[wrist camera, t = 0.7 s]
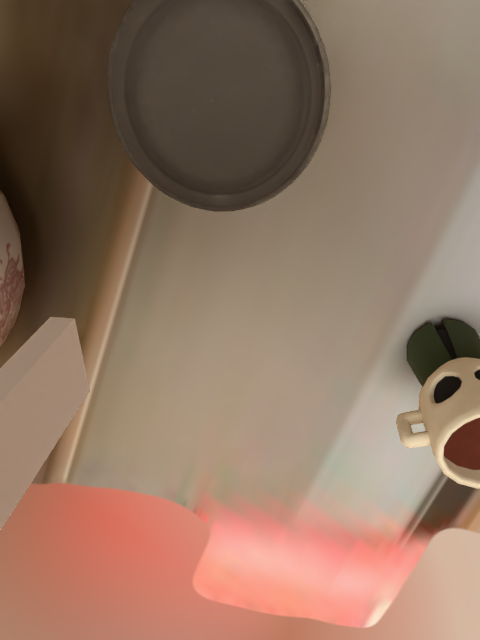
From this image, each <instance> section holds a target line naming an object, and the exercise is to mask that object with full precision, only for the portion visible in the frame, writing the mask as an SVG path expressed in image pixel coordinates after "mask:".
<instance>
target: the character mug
mask: <svg viewBox="0 0 480 640" xmlns="http://www.w3.org/2000/svg"><path fill="white" fill-rule="evenodd" d="M443 322H444V325H445V327H446V329H440V330H438V331H436V329H435V328H434V326H433V324H432V323H428V324H426V325H425V326H424V327H422V328H421V329H419V330H418V331H417V332H415V333H414V335H413V337H412V338H411V340H410V342H409V343H408V345H407V361H408V363H409V364H410V366H411V368H412V370H413V372H414V373H415V375H416V377H417V379H418V380H419V382H420V384H421V385H422V389H421V392H420V396H419V410H416V411H411V412H405V413H402V414H399V415H398V416H397V420H396V424H397V428H398V432H399V436H400V440H401V442H402V443H403V445H404V446H406V447H407V448H415V447H421V446H427V445H431V447H432V450H433V453H434V456H435V458H436V460H437V462H438V464H439V466H440V467H441V469H442V471H443V473H444V474H445V475H447V476H448V477H449V478H451V479H452V480H454V481H455V482H457V483H458V484H462V485H466V486H469V487H473V488H477V489H480V339H479V337H478V335H477V333H476V331H475V330H474V329H473V328H471V327H470V326H468V325H467V324H465V323H464V322H462V321H456V320H449V319H445V320H443ZM419 423H424V426H425V429H426V431H424V432H418V433H413V432H412V429H411V425H413V424H419Z"/></svg>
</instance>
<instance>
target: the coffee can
mask: <svg viewBox="0 0 480 640" xmlns="http://www.w3.org/2000/svg"><path fill="white" fill-rule="evenodd" d="M107 90H108V99H109V106H110V111H111V115H112V119H113V123H114V126H115V129H116V132H117V135H118V137H119V140H120V142H121V144H122V146H123V148H124V149H125V151H126V153H127V155H128V156H129V158H130V159H131V161H132V162H133V163H134V164H135V166H136V167H137V169H138V170H139V171H140V172H141V173H142V174H143V175H144V176H145V177H146V178H147V179H148V180H149V181H150V182H151V183H152V184H153V185H154V186H156V187H157V188H158V189H159V190H160V191H162V192H163V193H165V194H166V195H168V196H169V197H171V198H173V199H175V200H177V201H179V202H181V203H183V204H186V205H189V206H191V207H195V208H199V209H204V210H210V211H235V210H241V209H245V208H249V207H253V206H256V205H258V204H261V203H263V202H265V201H267V200H269V199H271V198H273V197H275V196H276V195H277V194H279V193H280V192H282V191H283V190H284V189H285V188H287V187H288V186H289V185H290V184H292V183H293V181H294V180H295V179H296V178H297V177H298V176H299V175H300V174H301V173H302V171H303V170H304V169H305V168H306V166H307V165H308V163H309V162H310V160H311V159H312V157H313V155H314V153H315V151H316V150H317V148H318V146H319V143H320V141H321V138H322V135H323V132H324V129H325V126H326V123H327V118H328V113H329V106H330V91H331V88H330V73H329V65H328V60H327V56H326V52H325V48H324V45H323V42H322V40H321V37H320V34H319V32H318V30H317V27H316V26H315V24H314V22H313V20H312V18H311V16H310V15H309V13H308V12H307V10H306V9H305V7H304V6H303V4H302V3H301V2H300V1H299V0H134V1H133V3H132V4H131V5H130V7H129V8H128V10H127V12H126V13H125V15H124V17H123V19H122V21H121V23H120V25H119V27H118V29H117V32H116V34H115V37H114V40H113V43H112V47H111V50H110V56H109V61H108V71H107Z"/></svg>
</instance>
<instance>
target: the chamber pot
mask: <svg viewBox="0 0 480 640" xmlns="http://www.w3.org/2000/svg"><path fill="white" fill-rule="evenodd" d="M24 289H25V279H24V265H23V255H22V247H21V239H20V230H19V228H18V225H17V223H16V221H15V218H14V216H13V214H12V211H11V209H10V207H9V204H8V202H7V200H6V197H5V195H4V194H3V193H2V191H1V190H0V347H1V346H2V344H3V342H4V341H5V339H6V338H7V336H8V334H9V333H10V331H11V329H12V328H13V326H14V324H15V323H16V321H17V318H18V314H19V310H20V305H21V301H22V297H23V293H24Z"/></svg>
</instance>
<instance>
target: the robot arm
mask: <svg viewBox="0 0 480 640" xmlns="http://www.w3.org/2000/svg"><path fill="white" fill-rule="evenodd" d="M89 392H90V390H89V385H88V380H87V375H86V371H85V366H84V361H83V356H82V351H81V346H80V342H79V337H78V332H77V327H76V322H75V318H59V317H50V318H49V319H48V320H47V321H46V322H45V323H44V324H43V325H42V326H41V327H40V328H39V329H38V330H37V331H36V332H35V333H34V334H33V335H32V336H31V337H30V338H29V339H28V340H27V341H26V342H25V344H24V345H23V346H22V347H21V348H20V349H19V350H18V351H17V352H16V353H15V354H14V355H13V356H12V357H11V358H10V359H9V360H8V361H7V362H6V363H5V364H4V365H3V366H2V367H1V368H0V531H1V529H2V527H3V526H4V524H5V523H6V521H7V520H8V518H9V516H10V514H11V513H12V512H13V510H14V509H15V507H16V505H17V504H18V502H19V501H20V499H21V498H22V496H23V495H24V493H25V492H26V490H27V488H28V487H29V485H30V484H31V482H32V481H33V479H34V477H35V476H36V474H37V473H38V471H39V470H40V468H41V467H42V465H43V463H44V462H45V460H46V459H47V457H48V456H49V454H50V452H51V451H52V449H53V448H54V446H55V445H56V443H57V442H58V440H59V438H60V437H61V435H62V434H63V432H64V431H65V429H66V427H67V426H68V424H69V423H70V421H71V420H72V418H73V417H74V415H75V413H76V412H77V410H78V409H79V407H80V406H81V404H82V403H83V401H84V399H85V398H86V396H87V395H88V393H89Z"/></svg>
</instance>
